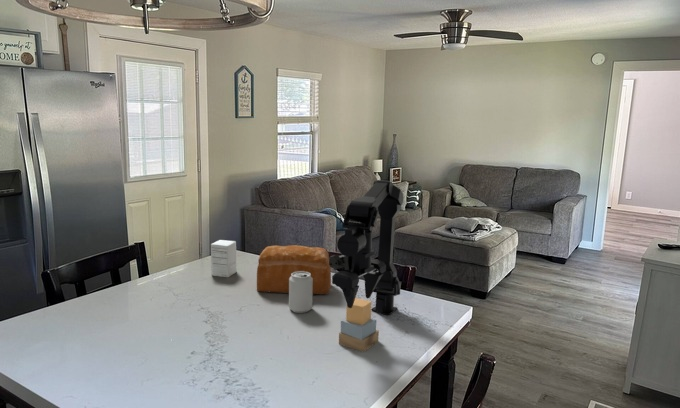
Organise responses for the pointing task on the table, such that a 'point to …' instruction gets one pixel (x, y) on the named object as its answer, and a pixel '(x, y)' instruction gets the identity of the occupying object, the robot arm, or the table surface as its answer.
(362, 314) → the ochre cube
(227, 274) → the supplement box
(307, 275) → the can
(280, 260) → the bread
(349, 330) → the slate block
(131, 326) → the table surface
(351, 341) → the walnut base block
